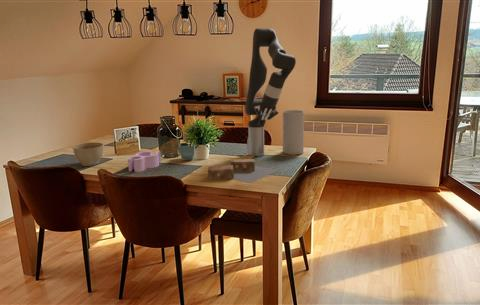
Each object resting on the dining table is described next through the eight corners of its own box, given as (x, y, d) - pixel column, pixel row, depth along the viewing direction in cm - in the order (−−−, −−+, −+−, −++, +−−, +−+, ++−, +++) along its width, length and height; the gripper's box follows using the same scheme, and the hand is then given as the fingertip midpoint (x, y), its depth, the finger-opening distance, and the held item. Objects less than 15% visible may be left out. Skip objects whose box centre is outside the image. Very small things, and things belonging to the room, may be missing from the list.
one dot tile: (233, 178, 190) (208, 180, 191) (233, 174, 195) (209, 176, 196) (232, 169, 189) (207, 170, 189) (232, 165, 193) (208, 166, 194)
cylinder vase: (279, 151, 243) (279, 111, 237) (296, 149, 248) (297, 109, 242) (289, 155, 232) (289, 113, 226) (307, 153, 237) (308, 112, 231)
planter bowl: (68, 166, 219) (66, 147, 217) (88, 159, 234) (86, 141, 231) (92, 169, 214) (89, 149, 211) (111, 161, 229) (109, 143, 226)
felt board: (222, 178, 194) (222, 176, 193) (251, 166, 213) (251, 165, 213) (250, 184, 184) (250, 183, 183) (278, 171, 203) (278, 169, 203)
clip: (141, 173, 205) (140, 160, 203) (123, 170, 210) (122, 158, 209) (164, 163, 222) (164, 151, 221) (147, 161, 228) (146, 149, 226)
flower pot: (180, 157, 234) (179, 142, 232) (195, 156, 235) (194, 142, 232) (179, 161, 225) (178, 146, 223) (195, 160, 226) (194, 145, 224)
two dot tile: (254, 171, 201) (231, 171, 202) (254, 168, 206) (231, 168, 207) (254, 161, 200) (230, 162, 201) (254, 159, 205) (231, 159, 206)
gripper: (261, 95, 182) (250, 127, 190) (287, 99, 187) (274, 131, 195) (257, 88, 188) (246, 120, 196) (281, 93, 193) (270, 123, 201)
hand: (260, 125), depth 196 cm, fingers closed
